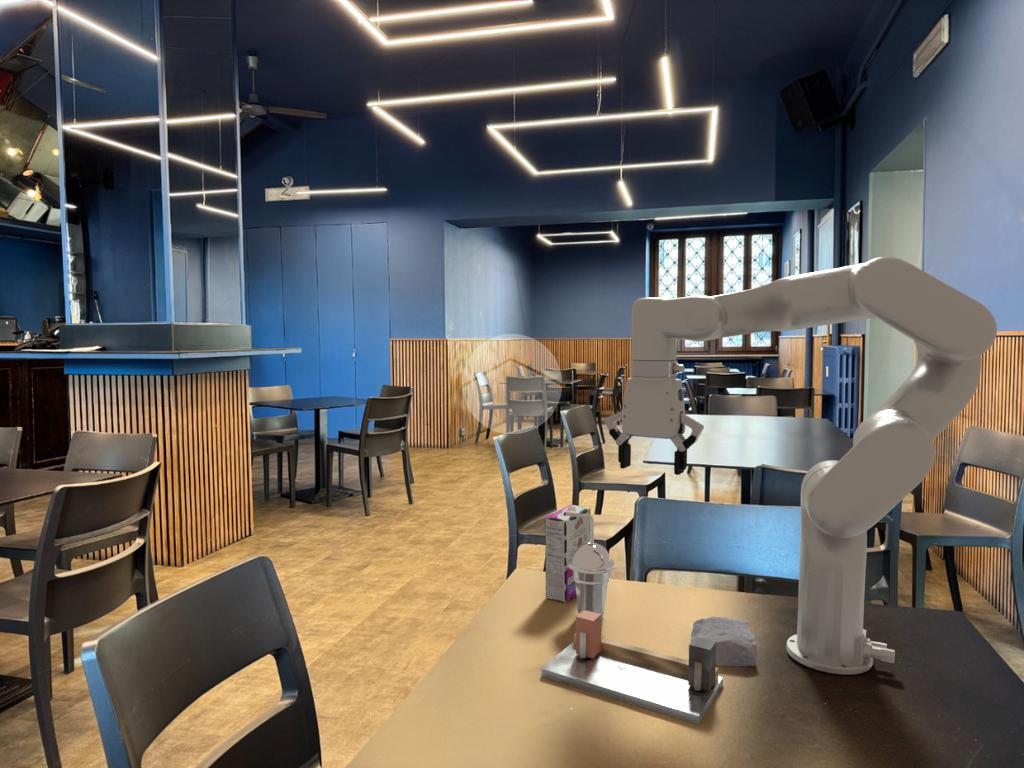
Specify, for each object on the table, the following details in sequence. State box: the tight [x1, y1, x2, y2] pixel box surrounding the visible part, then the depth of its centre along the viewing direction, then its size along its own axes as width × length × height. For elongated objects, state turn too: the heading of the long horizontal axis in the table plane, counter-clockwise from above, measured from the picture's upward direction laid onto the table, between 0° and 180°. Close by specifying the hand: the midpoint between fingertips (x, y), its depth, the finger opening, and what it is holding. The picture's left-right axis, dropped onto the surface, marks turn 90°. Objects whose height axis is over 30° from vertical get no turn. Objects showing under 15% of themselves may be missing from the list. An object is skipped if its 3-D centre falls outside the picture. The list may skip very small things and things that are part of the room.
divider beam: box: [573, 632, 719, 691], centre depth 104 cm, size 23×6×6 cm, turn 58°
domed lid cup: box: [564, 512, 616, 621], centre depth 124 cm, size 8×9×20 cm
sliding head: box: [575, 610, 603, 658], centre depth 108 cm, size 3×4×6 cm
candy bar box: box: [544, 504, 591, 604], centre depth 136 cm, size 11×5×16 cm, turn 148°
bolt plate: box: [540, 640, 724, 725], centre depth 102 cm, size 24×12×1 cm, turn 58°
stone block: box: [690, 616, 758, 668], centre depth 113 cm, size 12×5×10 cm
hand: (651, 470), depth 118 cm, fingers open, 9 cm apart
